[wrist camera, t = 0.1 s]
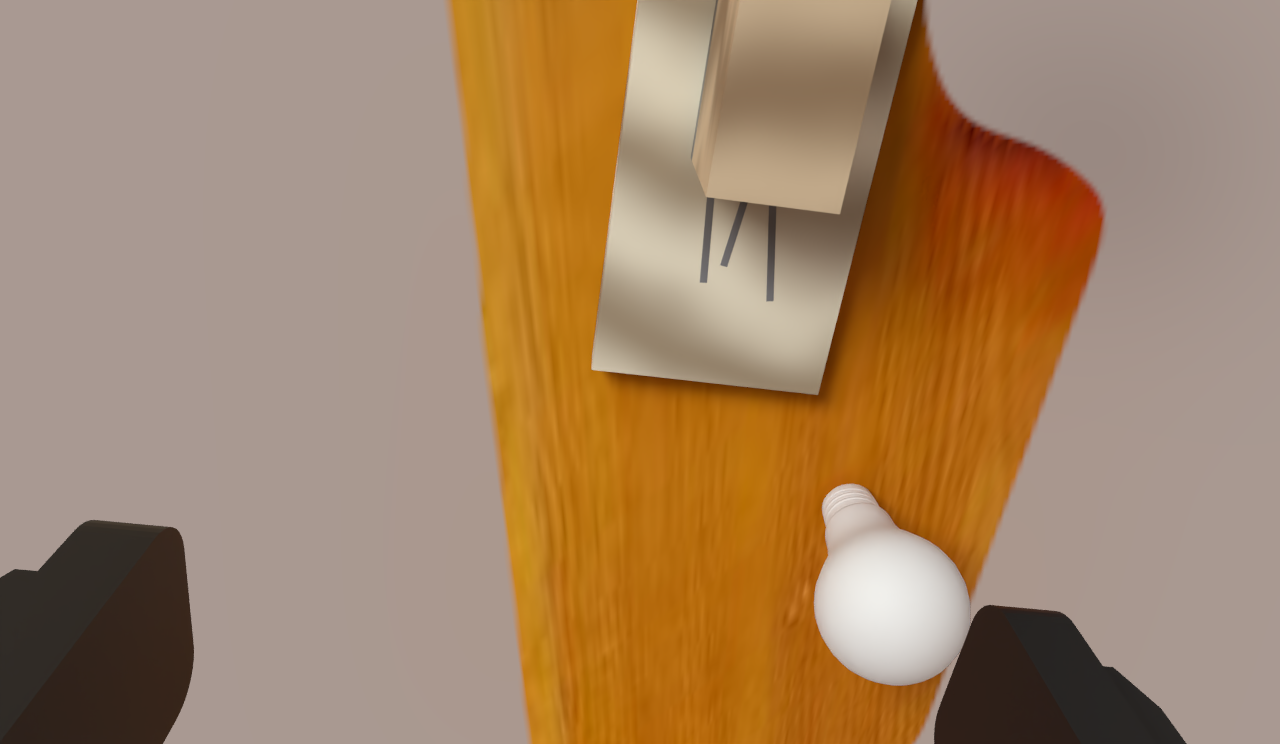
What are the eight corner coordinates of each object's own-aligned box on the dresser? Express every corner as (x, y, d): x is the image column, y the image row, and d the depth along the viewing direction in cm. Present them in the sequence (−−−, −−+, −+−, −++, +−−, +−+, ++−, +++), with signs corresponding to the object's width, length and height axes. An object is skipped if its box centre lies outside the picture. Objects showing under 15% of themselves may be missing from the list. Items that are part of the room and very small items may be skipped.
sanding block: (727, -72, 31) (752, -75, 26) (852, -52, 31) (903, -52, 26) (690, 157, 34) (705, 197, 29) (803, 172, 35) (839, 214, 29)
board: (649, -98, 32) (651, -100, 31) (918, -56, 33) (931, -56, 31) (592, 355, 40) (591, 369, 38) (810, 379, 40) (818, 394, 39)
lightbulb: (911, 438, 42) (1005, 590, 32) (901, 544, 45) (984, 715, 35) (782, 445, 42) (836, 600, 32) (779, 551, 45) (829, 724, 35)
